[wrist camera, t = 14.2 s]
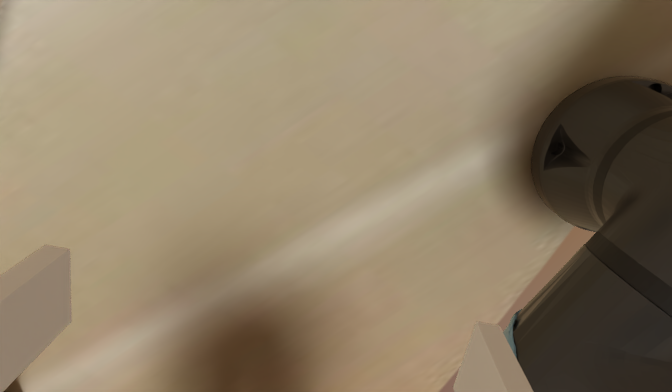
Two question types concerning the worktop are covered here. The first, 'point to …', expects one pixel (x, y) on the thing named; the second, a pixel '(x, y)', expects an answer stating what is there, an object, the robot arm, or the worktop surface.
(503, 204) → the worktop surface
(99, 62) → the worktop surface
